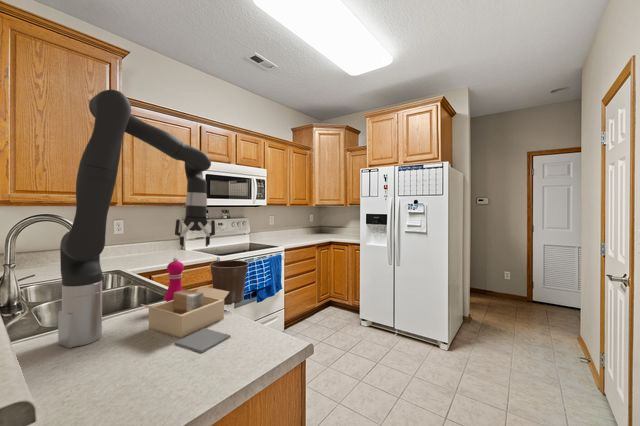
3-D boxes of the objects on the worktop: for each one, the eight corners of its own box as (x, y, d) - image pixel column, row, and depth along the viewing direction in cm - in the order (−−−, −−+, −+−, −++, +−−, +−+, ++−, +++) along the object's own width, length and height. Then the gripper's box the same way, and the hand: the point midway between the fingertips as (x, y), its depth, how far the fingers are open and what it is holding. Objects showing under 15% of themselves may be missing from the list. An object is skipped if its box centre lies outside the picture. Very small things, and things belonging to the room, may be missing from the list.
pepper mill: (180, 303, 118) (180, 255, 118) (188, 307, 114) (189, 257, 113) (161, 308, 113) (162, 257, 112) (169, 312, 108) (170, 259, 108)
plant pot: (252, 295, 132) (252, 260, 131) (243, 307, 116) (244, 267, 115) (216, 294, 131) (216, 259, 131) (202, 307, 115) (203, 267, 115)
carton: (172, 343, 84) (172, 312, 84) (139, 332, 91) (139, 303, 91) (230, 316, 106) (230, 291, 106) (199, 308, 113) (200, 285, 113)
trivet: (202, 353, 79) (202, 350, 79) (174, 344, 84) (175, 342, 84) (230, 337, 89) (230, 335, 89) (204, 329, 94) (204, 328, 94)
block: (191, 326, 95) (192, 296, 94) (173, 321, 99) (173, 292, 98) (202, 321, 99) (203, 293, 99) (184, 317, 103) (184, 289, 102)
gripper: (175, 203, 105) (174, 248, 105) (216, 205, 111) (215, 247, 111) (176, 204, 112) (174, 245, 112) (214, 205, 118) (213, 245, 118)
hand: (194, 246), depth 112 cm, fingers open, 8 cm apart
